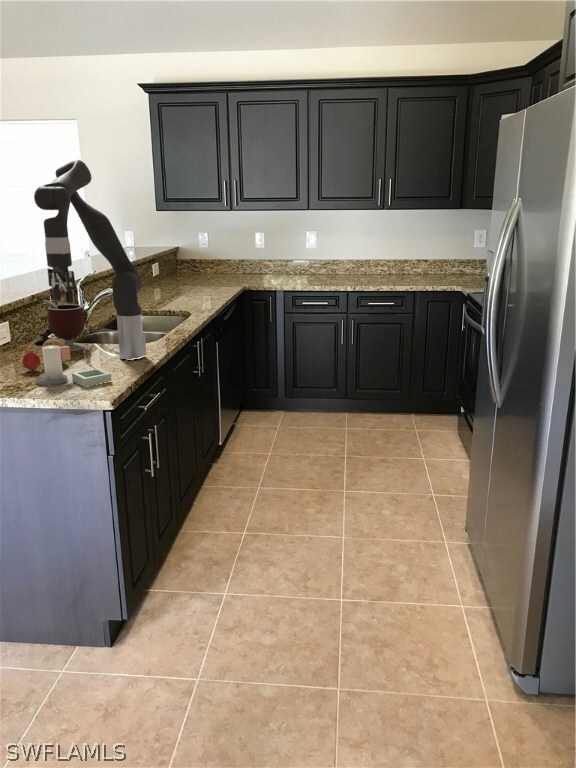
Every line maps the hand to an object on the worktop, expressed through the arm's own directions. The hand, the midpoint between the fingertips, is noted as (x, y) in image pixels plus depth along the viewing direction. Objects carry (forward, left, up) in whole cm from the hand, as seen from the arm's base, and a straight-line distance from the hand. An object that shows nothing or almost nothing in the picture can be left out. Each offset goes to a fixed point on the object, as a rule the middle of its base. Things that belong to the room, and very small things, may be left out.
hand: (63, 301), depth 197 cm
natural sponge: (-3, -20, -27) cm, 34 cm away
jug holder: (-3, +10, -26) cm, 28 cm away
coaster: (+7, +1, -26) cm, 27 cm away
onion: (+7, -16, -27) cm, 32 cm away
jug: (+5, +1, -25) cm, 26 cm away
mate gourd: (-17, -42, -27) cm, 53 cm away
